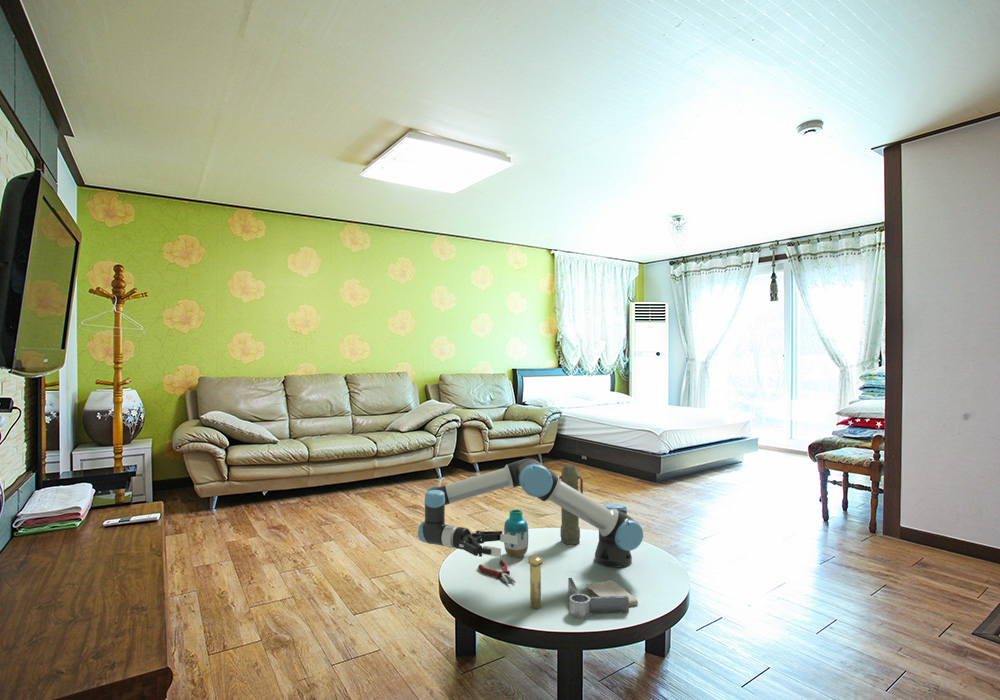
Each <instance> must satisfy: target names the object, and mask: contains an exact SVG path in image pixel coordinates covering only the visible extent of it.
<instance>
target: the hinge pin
mask: <svg viewBox="0 0 1000 700" xmlns="http://www.w3.org/2000/svg"><path fill="white" fill-rule="evenodd" d="M543 560H544V558H543V557H542V556H540V555H531V556H529V557H527V564H528V565H529V578H530V579H529V586H530V587H529V588H530V589H529V595H530V597H529V598H530V601H529V602H530V608H531V609H532V610H540V609H541V608H542V590H541V589H542V587H541V586H542V584H541V583H542V582H541V581H542V578H541V577H542V576H541V575H542V573H541V571H542V569H541V568H542V567H541V566H542V565H543V562H544V561H543ZM539 608H540V609H539Z"/></svg>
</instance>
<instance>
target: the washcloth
mask: <svg viewBox="0 0 1000 700" xmlns="http://www.w3.org/2000/svg"><path fill="white" fill-rule="evenodd" d="M584 590H585V591H587V593H588V594H589V595H590V597H605V596H628V597H629V607H634V606H637V605H638V604H639V600H638V598H636V597H635V596H633V594H631V593H629V592H628V591H627V590H625V588H624V587H622V586H621V585H619V584H618V583H617V582H615V581H614V580H611V579H609V580H606V581H605V580H604V581H602V582H600V581H599V582H592V583H587V584H586V585H585V589H584Z"/></svg>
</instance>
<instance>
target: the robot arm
mask: <svg viewBox="0 0 1000 700" xmlns="http://www.w3.org/2000/svg"><path fill="white" fill-rule="evenodd" d="M507 487H510V488H512V489H514V488H517V487H521V489H522V490H523V491H524V492H525V493H526V494H527V495H528V496H531V497H533V498H537V499H539V500H541V501H542V502H547V501H550V502H551V503H554V504H555V505H557V506H559V507H560V508H561V507H562V508H564V509H565V510H567V511H569V512H570V513H572V514H574V515H576V516H577V517H579V519H581V520H582V521H584V522H586V523H588V524H589V525H591V526H593V527H594V528H596V529H598V542H597V545H596V550H595V552H594V560H595V562H596V563H597V564H599V565H602V566H605V567H609V566H610V568H611V567H613V568H622V567H627V566H629V565H631V564H632V563H633V559H632V558H633V557H632V553H631V551H632V550H633V551H634V550H636V549H637V548H638V547H639V546H640V545H641V543H642V542H643V539H644V530H643V528H642V526H641V524H640V523H639V522H638V521H636V520H635V519H633V518H632V517H631V516H629V514H628V509H627V508H628V507H627V506H626V505H624V504H620V503H619V504H617V503H608V504H601V503H599V502H597V501H595V500H594V499H592V498H591V497H588V496H587V495H585V494H584V493H583V494H582V493H581V491H580V490H579V491H577V490H575V489H574V488H572V487H570V486H569V485H567V484H565V483H564V482H562V481H561V479H559V474H558V473H556V472H555V471H553V470H552V469H549V468H547V467H546V466H544V465H543V464H542V463H541V462H540V461H538V460H537V459H535V458H524V459H521V460H516V461H514V462H511V463H508V464H505V466H504V467H503V468H500V469H496V470H493V471H492V470H491V471H489V472H486V473H482V474H480V475H475V476H473V477H468V478H465V479H462V480H458V481H456V482H455V481H454V482H452V483H449V484H445V485H441V486H435V485H434V486H431V487H430V488H428V489H427V491H426V492H425V494H424V521H423V522H421V523H420V525H419V527H418V530H417V537H418V540H419V541H421V542H422V543H426V544H428V545H435V546H437V545H438V546H441V547H446V548H447V547H448V549H452V548H453V549H457V550H463V551H465V552H467V553H469V554H471V555H473V556H475V557H483V555H484V556H491V557H496V558H501V557H502V548H499V547H495V546H489V545H483V544H484V543H487V542H488V543H489V542H499V541H500V543H504V542H505V543H511V544H516V545H517V536H512V535H506V534H504V533H503V531H502V530H499V531H498V530H495V531H493V530H492V531H491V530H489V531H485V530H483V531H482V530H476V532H473V533H471V531H470V529H469V528H468V527H462V526H456V525H450V524H446V523H445V522H446V519H445V516H446V514H445V513H446V511H445V510H446V506H447V505H450V504H454V503H457V502H460V501H465V500H467V499H470V498H473V497H477V496H481V495H484V494H487V493H491V492H494V491H497V490H500V489H501V490H502V489H504V488H507ZM481 544H482V545H483V546H482V545H481Z"/></svg>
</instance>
